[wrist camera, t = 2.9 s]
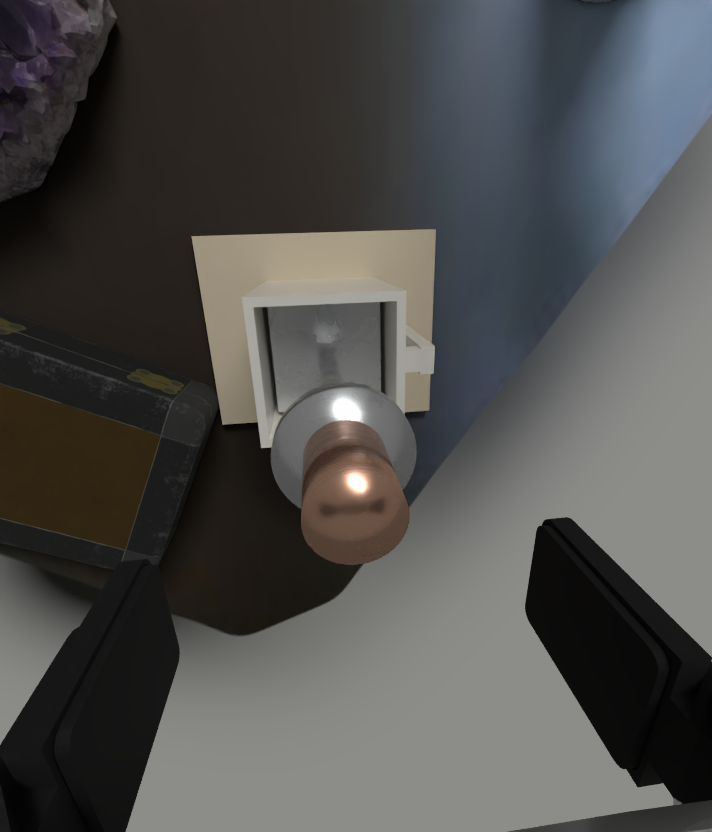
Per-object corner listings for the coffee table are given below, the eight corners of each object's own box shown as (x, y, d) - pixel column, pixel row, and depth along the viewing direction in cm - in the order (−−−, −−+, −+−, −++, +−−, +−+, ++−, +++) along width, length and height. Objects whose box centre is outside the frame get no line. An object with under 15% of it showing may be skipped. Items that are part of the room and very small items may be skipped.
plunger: (378, 299, 30) (500, 382, 11) (379, 402, 33) (477, 609, 14) (267, 304, 29) (191, 401, 10) (279, 409, 32) (236, 636, 13)
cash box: (-70, 474, 43) (-144, 518, 36) (-47, 289, 37) (-132, 298, 30) (173, 539, 49) (150, 588, 42) (225, 389, 43) (209, 416, 36)
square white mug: (432, 229, 39) (506, 216, 25) (426, 406, 46) (481, 479, 31) (194, 236, 37) (120, 226, 23) (224, 420, 44) (182, 505, 29)
